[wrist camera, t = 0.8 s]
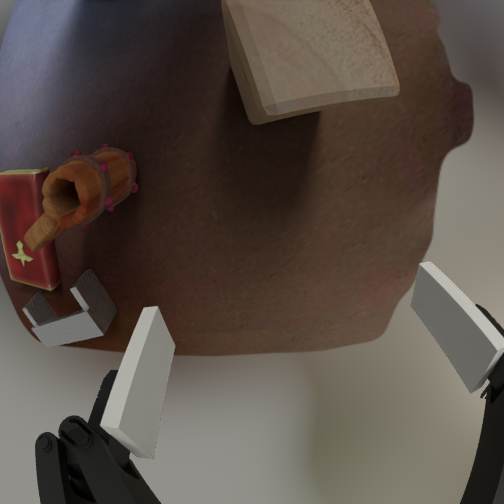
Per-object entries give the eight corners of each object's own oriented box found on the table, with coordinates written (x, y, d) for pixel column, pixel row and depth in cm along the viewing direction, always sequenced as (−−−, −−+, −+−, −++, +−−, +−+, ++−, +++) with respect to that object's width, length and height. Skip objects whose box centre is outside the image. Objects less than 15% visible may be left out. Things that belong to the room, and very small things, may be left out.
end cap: (37, 292, 42) (19, 312, 35) (91, 267, 40) (72, 290, 34) (60, 326, 46) (46, 347, 39) (117, 309, 44) (104, 335, 37)
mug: (125, 129, 31) (62, 136, 18) (158, 174, 34) (110, 206, 21) (63, 193, 34) (1, 229, 21) (92, 232, 37) (39, 282, 24)
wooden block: (250, 127, 32) (263, 123, 14) (228, 59, 28) (215, -13, 10) (323, 110, 31) (408, 99, 13) (302, 43, 27) (362, -25, 9)
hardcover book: (51, 166, 32) (35, 171, 29) (62, 280, 41) (51, 292, 37) (8, 167, 31) (-7, 173, 27) (21, 270, 40) (10, 280, 36)
